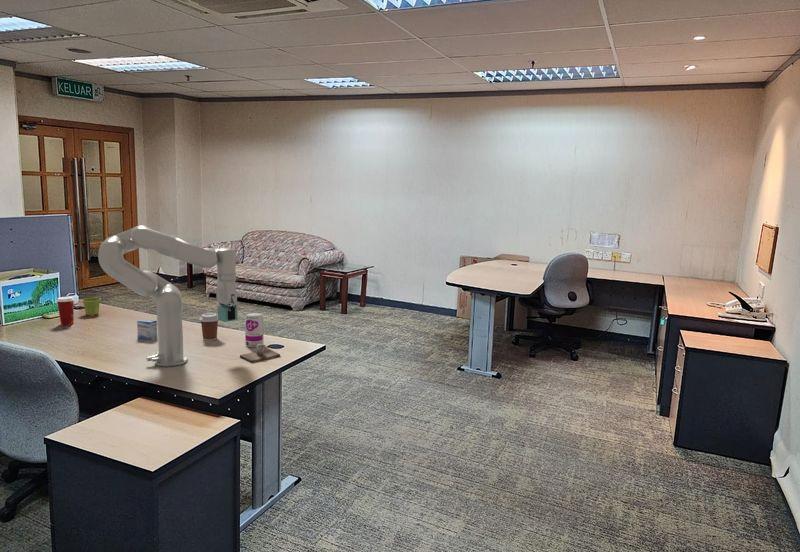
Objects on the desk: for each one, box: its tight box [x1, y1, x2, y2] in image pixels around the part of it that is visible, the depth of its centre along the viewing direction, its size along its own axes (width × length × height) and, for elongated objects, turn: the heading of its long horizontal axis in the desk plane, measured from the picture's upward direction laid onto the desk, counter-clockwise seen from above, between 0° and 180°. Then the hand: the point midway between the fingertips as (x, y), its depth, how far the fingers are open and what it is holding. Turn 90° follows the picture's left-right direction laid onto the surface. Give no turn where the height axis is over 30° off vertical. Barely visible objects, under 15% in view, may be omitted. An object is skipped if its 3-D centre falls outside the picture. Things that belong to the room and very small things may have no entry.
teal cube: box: [217, 305, 239, 323], centre depth 232 cm, size 6×6×6 cm
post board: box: [239, 344, 281, 364], centre depth 236 cm, size 14×10×6 cm
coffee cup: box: [199, 312, 219, 342], centre depth 260 cm, size 9×9×12 cm
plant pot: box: [81, 297, 102, 316], centre depth 301 cm, size 9×9×9 cm
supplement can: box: [244, 312, 264, 348], centre depth 252 cm, size 8×8×15 cm
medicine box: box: [136, 318, 158, 340], centre depth 259 cm, size 8×4×9 cm, turn 76°
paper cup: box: [56, 296, 75, 326], centre depth 279 cm, size 8×8×14 cm
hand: (227, 317), depth 232 cm, fingers closed on teal cube, 6 cm apart
